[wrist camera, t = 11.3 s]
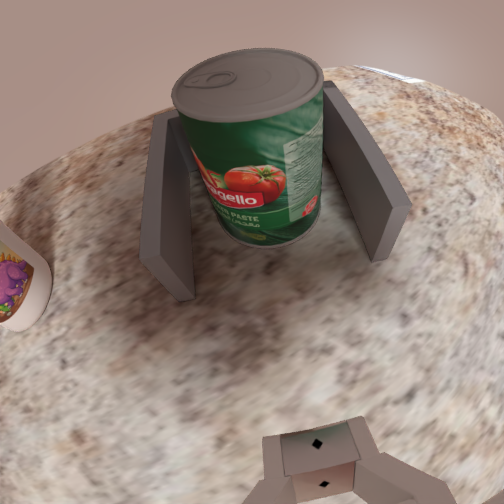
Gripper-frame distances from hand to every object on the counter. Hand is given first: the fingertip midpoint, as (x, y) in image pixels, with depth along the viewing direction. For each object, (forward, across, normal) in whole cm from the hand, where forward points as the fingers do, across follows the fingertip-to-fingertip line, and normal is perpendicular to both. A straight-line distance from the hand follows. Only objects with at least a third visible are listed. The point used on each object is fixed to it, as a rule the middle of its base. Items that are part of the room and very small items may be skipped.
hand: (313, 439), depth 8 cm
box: (+17, -1, -5) cm, 17 cm away
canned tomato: (+17, -1, -5) cm, 18 cm away
